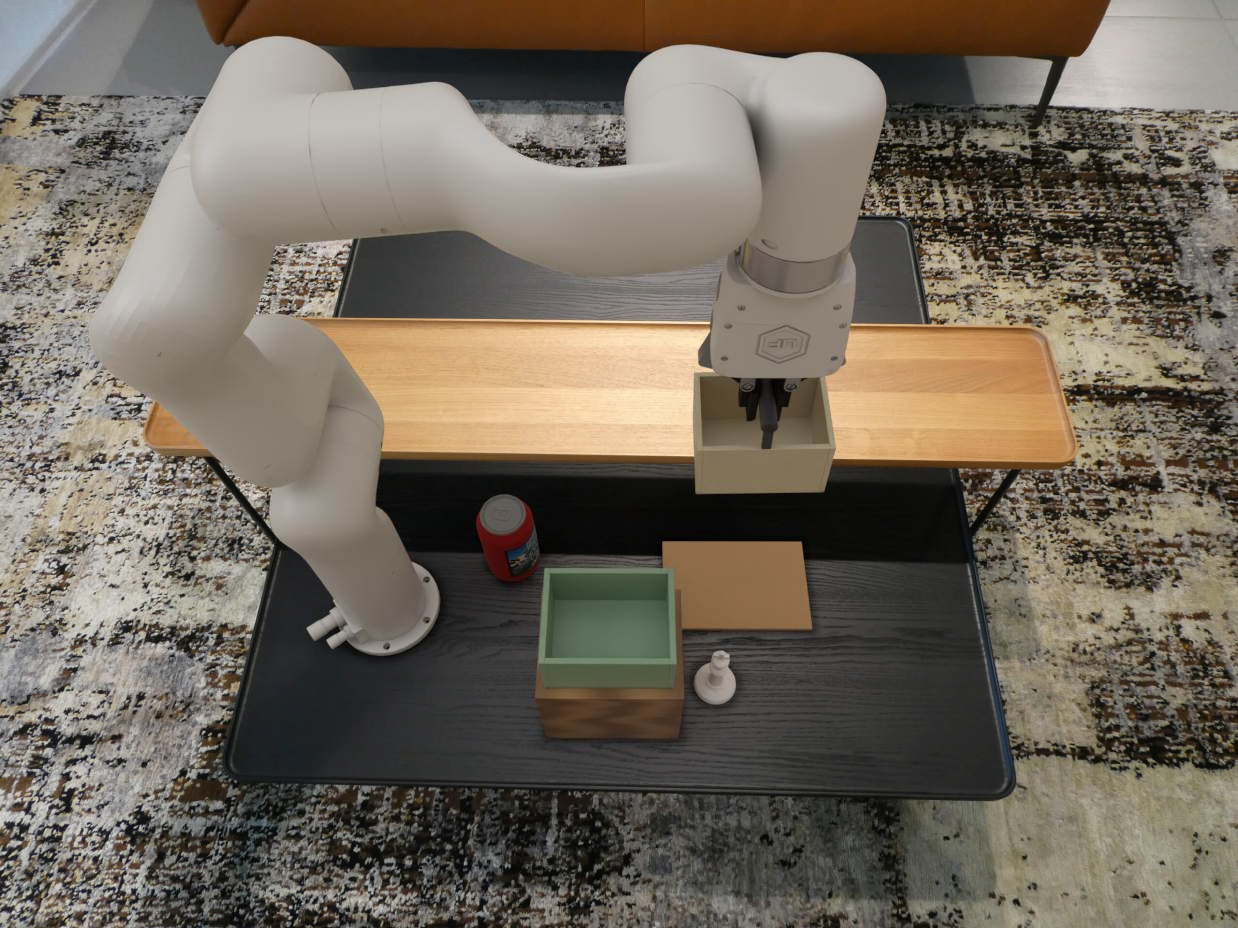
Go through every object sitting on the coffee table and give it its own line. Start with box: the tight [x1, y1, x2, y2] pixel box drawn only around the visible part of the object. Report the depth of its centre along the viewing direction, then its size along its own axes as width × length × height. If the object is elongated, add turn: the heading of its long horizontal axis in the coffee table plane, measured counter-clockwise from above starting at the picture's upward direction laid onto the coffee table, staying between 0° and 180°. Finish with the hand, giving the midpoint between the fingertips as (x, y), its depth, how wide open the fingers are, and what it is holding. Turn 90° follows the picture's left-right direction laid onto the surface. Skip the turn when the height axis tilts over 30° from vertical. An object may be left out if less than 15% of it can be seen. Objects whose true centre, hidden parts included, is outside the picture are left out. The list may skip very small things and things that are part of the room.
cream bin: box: [692, 371, 837, 495], centre depth 74 cm, size 12×9×11 cm
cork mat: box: [661, 540, 813, 632], centre depth 106 cm, size 18×12×1 cm, turn 89°
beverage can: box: [475, 494, 541, 582], centre depth 103 cm, size 7×7×12 cm
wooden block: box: [534, 588, 685, 740], centre depth 93 cm, size 15×12×14 cm
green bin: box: [538, 567, 677, 689], centre depth 84 cm, size 13×10×7 cm
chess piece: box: [693, 650, 737, 705], centre depth 95 cm, size 5×5×10 cm
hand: (761, 407), depth 73 cm, fingers closed on cream bin, 1 cm apart
